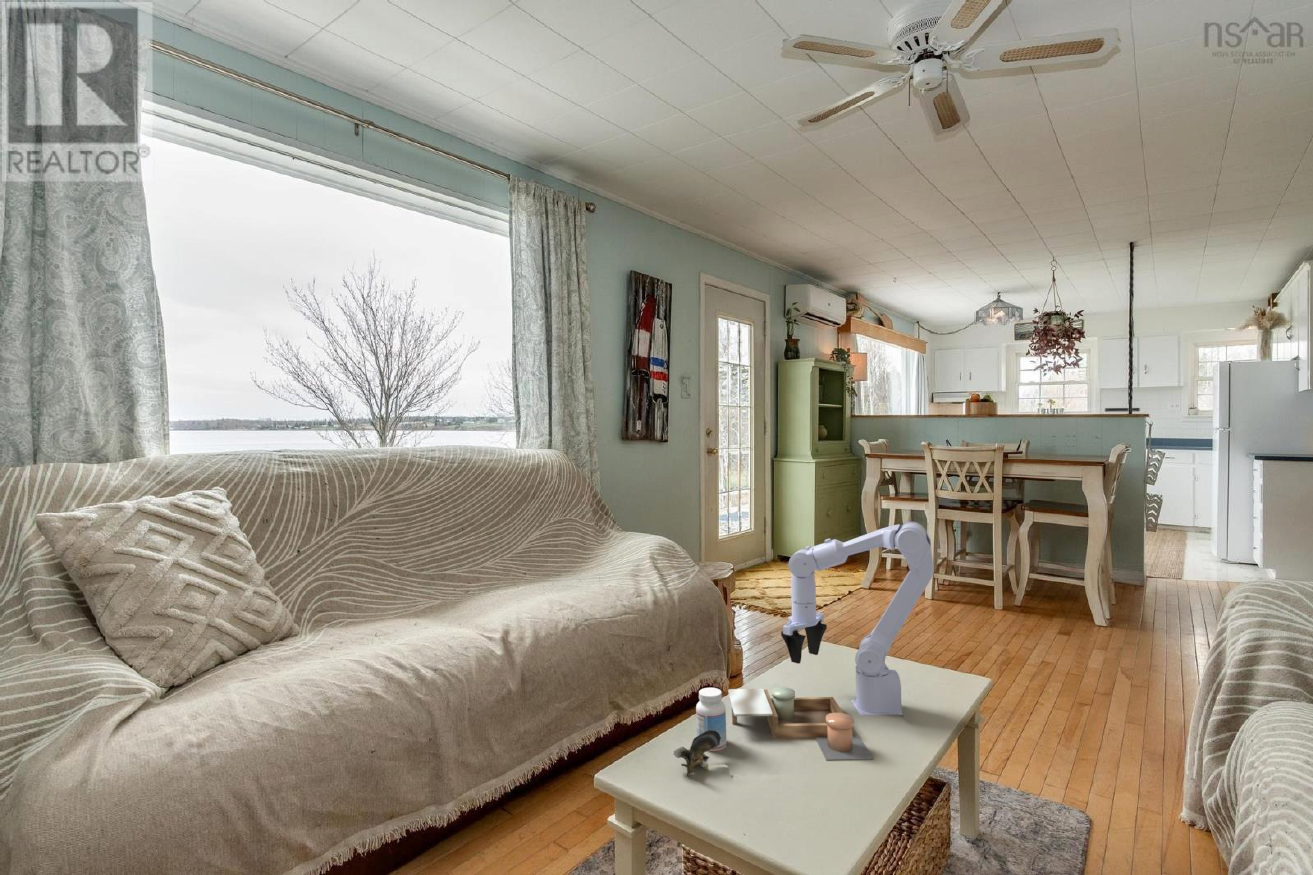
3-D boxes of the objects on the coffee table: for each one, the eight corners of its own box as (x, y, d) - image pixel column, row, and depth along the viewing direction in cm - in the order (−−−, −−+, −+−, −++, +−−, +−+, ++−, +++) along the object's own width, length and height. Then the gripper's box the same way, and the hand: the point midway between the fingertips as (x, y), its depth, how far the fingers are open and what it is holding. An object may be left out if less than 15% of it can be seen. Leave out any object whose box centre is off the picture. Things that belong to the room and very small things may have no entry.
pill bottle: (729, 741, 134) (728, 687, 134) (722, 755, 128) (721, 699, 128) (701, 737, 136) (700, 684, 135) (693, 751, 130) (692, 695, 130)
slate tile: (859, 740, 133) (859, 736, 133) (873, 762, 124) (873, 758, 124) (815, 741, 133) (815, 737, 133) (826, 763, 124) (826, 759, 124)
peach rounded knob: (850, 739, 132) (850, 712, 131) (856, 752, 126) (856, 724, 126) (823, 739, 132) (823, 712, 132) (828, 752, 127) (828, 724, 127)
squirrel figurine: (715, 777, 118) (730, 746, 126) (692, 744, 118) (708, 715, 126) (685, 790, 121) (701, 759, 129) (663, 758, 122) (680, 729, 130)
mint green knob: (793, 711, 146) (792, 686, 146) (797, 720, 141) (797, 695, 141) (770, 711, 146) (770, 687, 146) (774, 721, 141) (774, 696, 141)
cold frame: (833, 710, 147) (832, 686, 147) (851, 739, 133) (850, 713, 133) (728, 711, 148) (727, 688, 148) (735, 741, 134) (734, 715, 134)
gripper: (805, 592, 161) (807, 646, 161) (771, 604, 151) (772, 662, 151) (831, 597, 156) (832, 653, 156) (797, 609, 146) (798, 669, 146)
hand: (804, 658), depth 153 cm, fingers open, 7 cm apart
